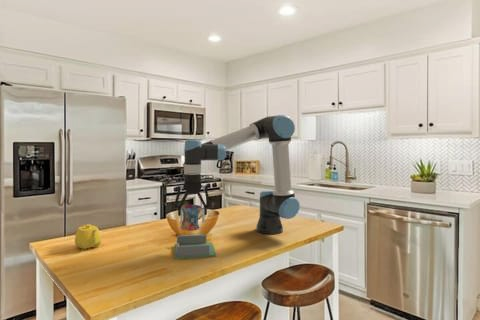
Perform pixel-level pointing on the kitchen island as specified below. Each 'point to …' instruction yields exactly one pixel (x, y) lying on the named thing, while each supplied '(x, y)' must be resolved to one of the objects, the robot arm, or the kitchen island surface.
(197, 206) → the mug
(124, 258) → the kitchen island surface
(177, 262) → the kitchen island surface
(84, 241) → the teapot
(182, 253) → the grey stepped block
